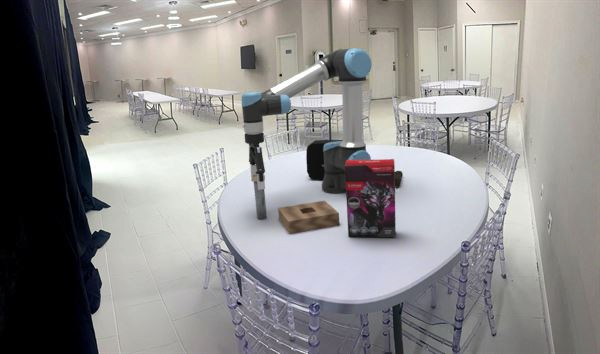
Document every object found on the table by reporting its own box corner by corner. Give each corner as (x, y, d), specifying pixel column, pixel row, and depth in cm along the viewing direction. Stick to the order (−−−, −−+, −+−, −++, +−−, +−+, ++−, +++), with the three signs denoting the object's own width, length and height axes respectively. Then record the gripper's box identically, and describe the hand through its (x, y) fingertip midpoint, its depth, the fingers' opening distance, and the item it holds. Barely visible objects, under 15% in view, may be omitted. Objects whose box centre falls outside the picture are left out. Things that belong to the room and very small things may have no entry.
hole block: (325, 211, 184) (324, 200, 183) (339, 225, 169) (338, 212, 168) (278, 219, 179) (278, 207, 178) (289, 233, 164) (288, 221, 163)
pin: (266, 214, 185) (263, 173, 180) (269, 218, 180) (265, 176, 175) (254, 216, 184) (250, 175, 179) (257, 221, 179) (252, 178, 174)
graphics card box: (347, 237, 158) (344, 164, 150) (348, 230, 164) (346, 159, 157) (395, 238, 154) (395, 163, 147) (395, 230, 161) (395, 158, 153)
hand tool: (394, 177, 226) (394, 169, 225) (402, 177, 225) (402, 169, 224) (391, 189, 209) (390, 179, 207) (399, 189, 207) (399, 179, 206)
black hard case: (307, 180, 230) (304, 143, 225) (313, 174, 241) (311, 138, 236) (364, 182, 221) (363, 143, 215) (368, 175, 232) (368, 138, 226)
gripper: (239, 128, 183) (243, 178, 189) (250, 138, 160) (254, 194, 165) (257, 127, 185) (260, 175, 191) (270, 136, 162) (274, 191, 167)
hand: (258, 184), depth 178 cm, fingers open, 13 cm apart
